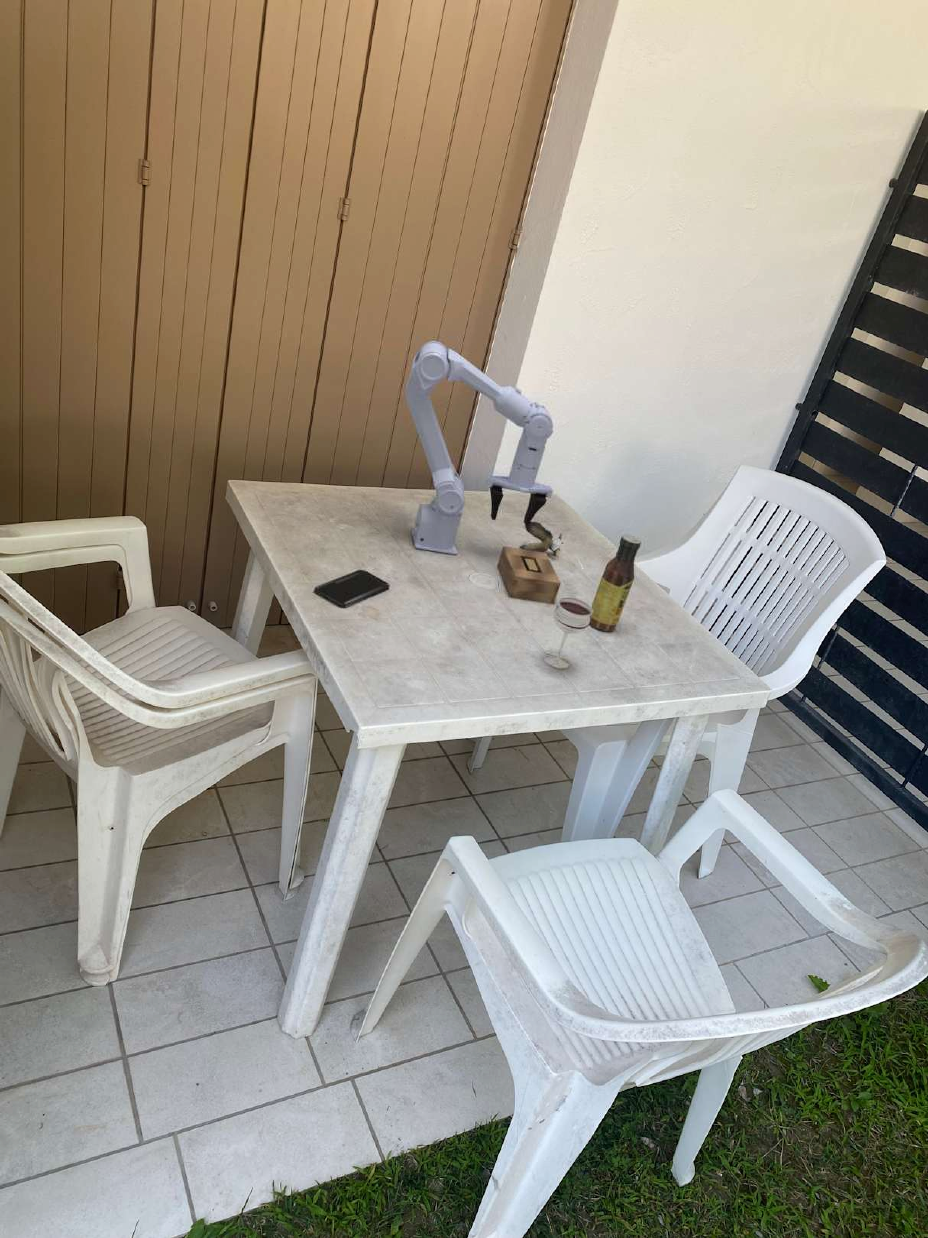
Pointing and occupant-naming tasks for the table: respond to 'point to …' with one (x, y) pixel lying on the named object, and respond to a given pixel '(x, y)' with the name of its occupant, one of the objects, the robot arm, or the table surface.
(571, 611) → the wineglass
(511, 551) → the box
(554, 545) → the eagle figurine
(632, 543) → the sauce bottle
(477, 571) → the table surface
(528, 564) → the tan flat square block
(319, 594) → the phone
